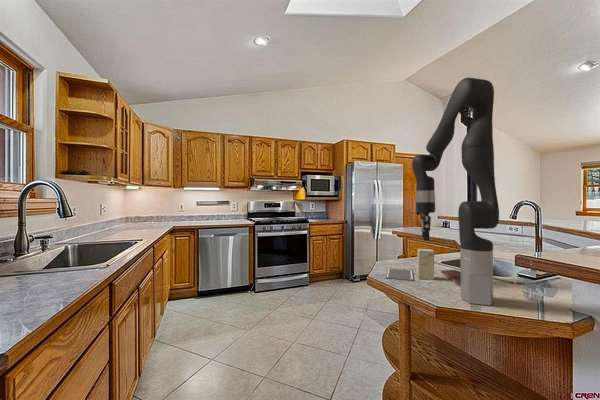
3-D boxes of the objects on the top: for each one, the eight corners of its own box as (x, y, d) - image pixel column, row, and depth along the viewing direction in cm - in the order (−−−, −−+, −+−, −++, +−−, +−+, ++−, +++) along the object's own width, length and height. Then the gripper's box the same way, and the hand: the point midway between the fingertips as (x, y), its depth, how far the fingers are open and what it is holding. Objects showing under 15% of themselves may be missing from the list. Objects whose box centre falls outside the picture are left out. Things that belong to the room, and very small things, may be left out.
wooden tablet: (437, 268, 131) (459, 266, 129) (437, 272, 131) (460, 270, 129) (460, 286, 105) (489, 283, 103) (461, 291, 105) (489, 289, 103)
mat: (413, 280, 114) (413, 279, 114) (385, 278, 118) (385, 277, 118) (412, 271, 129) (412, 270, 129) (387, 269, 133) (387, 268, 133)
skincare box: (418, 279, 117) (418, 250, 117) (417, 276, 121) (416, 248, 121) (434, 280, 115) (434, 251, 115) (432, 277, 119) (432, 249, 119)
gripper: (437, 201, 110) (437, 242, 110) (433, 200, 123) (433, 237, 123) (416, 201, 112) (416, 241, 113) (415, 201, 126) (415, 236, 126)
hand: (425, 239), depth 118 cm, fingers open, 8 cm apart
